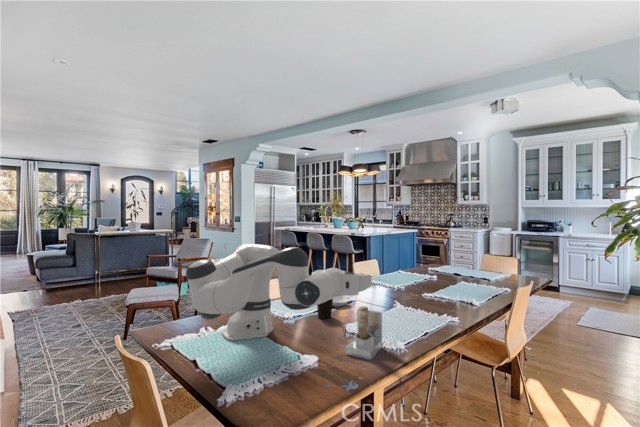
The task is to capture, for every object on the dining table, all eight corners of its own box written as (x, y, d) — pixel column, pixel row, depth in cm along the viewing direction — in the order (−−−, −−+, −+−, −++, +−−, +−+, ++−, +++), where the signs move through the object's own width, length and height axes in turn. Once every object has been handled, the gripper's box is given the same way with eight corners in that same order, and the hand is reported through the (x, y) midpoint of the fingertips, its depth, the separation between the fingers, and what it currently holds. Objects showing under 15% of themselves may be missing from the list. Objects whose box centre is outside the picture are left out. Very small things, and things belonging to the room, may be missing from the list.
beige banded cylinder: (362, 346, 129) (362, 309, 128) (356, 343, 132) (356, 307, 131) (370, 344, 131) (369, 308, 130) (364, 341, 134) (364, 305, 133)
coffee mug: (331, 320, 167) (331, 300, 166) (314, 319, 168) (314, 299, 168) (335, 313, 178) (335, 294, 178) (319, 312, 180) (319, 293, 179)
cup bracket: (370, 360, 124) (370, 321, 124) (345, 354, 129) (345, 317, 129) (382, 347, 135) (382, 312, 135) (358, 342, 140) (358, 308, 140)
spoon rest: (352, 305, 192) (352, 292, 192) (338, 310, 184) (338, 297, 184) (322, 297, 209) (322, 286, 209) (308, 301, 201) (308, 289, 201)
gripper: (304, 288, 113) (324, 280, 125) (361, 296, 103) (377, 286, 115) (304, 269, 113) (324, 263, 125) (361, 275, 103) (377, 268, 115)
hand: (350, 274), depth 120 cm, fingers open, 8 cm apart
